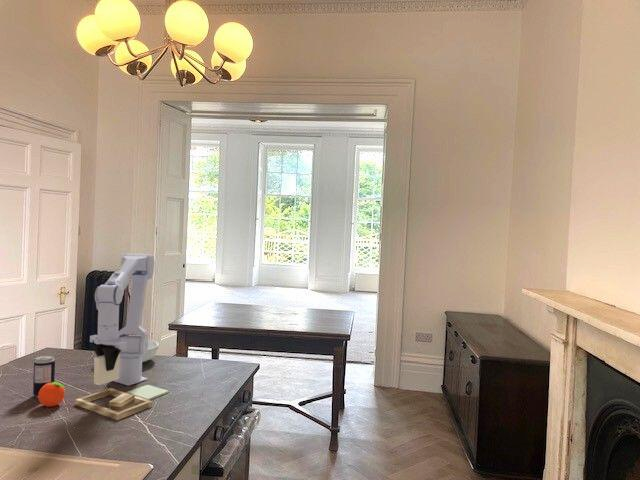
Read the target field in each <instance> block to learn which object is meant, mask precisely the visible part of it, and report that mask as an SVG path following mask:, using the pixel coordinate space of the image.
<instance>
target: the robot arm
mask: <svg viewBox="0 0 640 480" xmlns="http://www.w3.org/2000/svg"><path fill="white" fill-rule="evenodd" d="M154 270H155V259H154V256H153V254H152V253H127V252H124V253H123V255H122V256H121V259H120V268H119V270H117V271H114V272H113V273H112V274H111V275H110V276H109V278H108V279H107V281H106V282H105V283H104V284H100V286H99V285H98V286H97V287H96V289H95V293H94V301H95V306H96V307H95V308H96V310H97V311H98V312H97V334H93V335H89V343H94V344H96V345H93V346H92V349H93V352H95V354H96V357H97V356H101V355H104V356H105V362H106V370H107V371H110V370H113V369H114V367H115V363H116V360H117V357H118V355H119V353H120V359H119V379H117V380H114V381H113V382H115V383H119V384H121V385H125V386H128V387H129V386H133V385H134V384H138V383H141V382H144V381H147V380H148V378H147V377H145V376H142V375H143V372H142V371H143V362H142V355H144V354H145V353H146V351H147V348H148V340H149V334H148V331H146V330H145V329H144V328H143V327H142V321H143V320H142V319H143V314H144V313H143V312H144V307H145V297H146V291H147V285H148V281H149V280H151V279H152V278H153V274H154ZM130 280H131V288H130V295H129V296H130V297H129V302H128V310H127V316H126V323H125V326H124V327H122V328H121V329H120V330H119V326H120V325H119V322H120V319H119V318H120V304H121V303H122V301H123V298H124V297H123V296H124V294H125V289H126V288H127V287H128V285H129V283H130Z"/></svg>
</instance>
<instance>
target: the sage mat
mask: <svg viewBox="0 0 640 480" xmlns="http://www.w3.org/2000/svg"><path fill="white" fill-rule="evenodd" d="M125 393H128V394H132V395H135V396H137V397H141V398H144V399H147V400H150V401H152V400H154V399H156V398H159V397H162V396H163V395H166V394H167V395H168V394H169V393H170V391H169V390H167V389H163V388H160V387H157V386H154V385H151V384H146V385H143V386H140V387H137V388H133V389H131V390H128V391H126V392H125Z"/></svg>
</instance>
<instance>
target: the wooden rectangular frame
mask: <svg viewBox="0 0 640 480" xmlns="http://www.w3.org/2000/svg"><path fill="white" fill-rule="evenodd" d="M123 393H124V394H128V393H126V392H124V391H121V390H119V389H115V388H112V387H110V388H108V389H104V390H101V391H98V392H97V391H96V392H94V393H92V394H89V395H85V396H82V397H79V398H76V399H75V405H76V406H77V407H80V408H83V409H86V410H89V411H91V412H93V413H97V414H99V415H101V416H105V417H106V418H110V419H113V420H115V421H119V420H122V419H124V418H127V417H129V416H132V415H133V414H137V413H139V412H141V411H144V410H147V409H149V408H151V407H153V401H152V400H147V399H144V398H141V397H137V396H135V398H134V399H135V406H133V407H131V408H128V409H125V410H123V411H120V412H116V411H113V410H111V409H110V408H109V407H108V408H107V407H105V406H102V405H99V404H96V403H93V401H96V400H99V399H101V398H105V397H108V396H112V397H114V398H116V397H118V396H120V395H121V394H123Z"/></svg>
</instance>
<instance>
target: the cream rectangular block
mask: <svg viewBox="0 0 640 480" xmlns="http://www.w3.org/2000/svg"><path fill="white" fill-rule="evenodd" d="M119 359H120V353H119V355H118V357H117V360H116V363H115V367H114V369H113V370H110V371H107V370H106V362H105V356H104V355H101V356H97V355H96V356H94V359H93V384H94V385H97V386H100V385H101V386H102V385H104V384H107V383H111V382H115V381H114V380H117V379H119Z"/></svg>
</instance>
